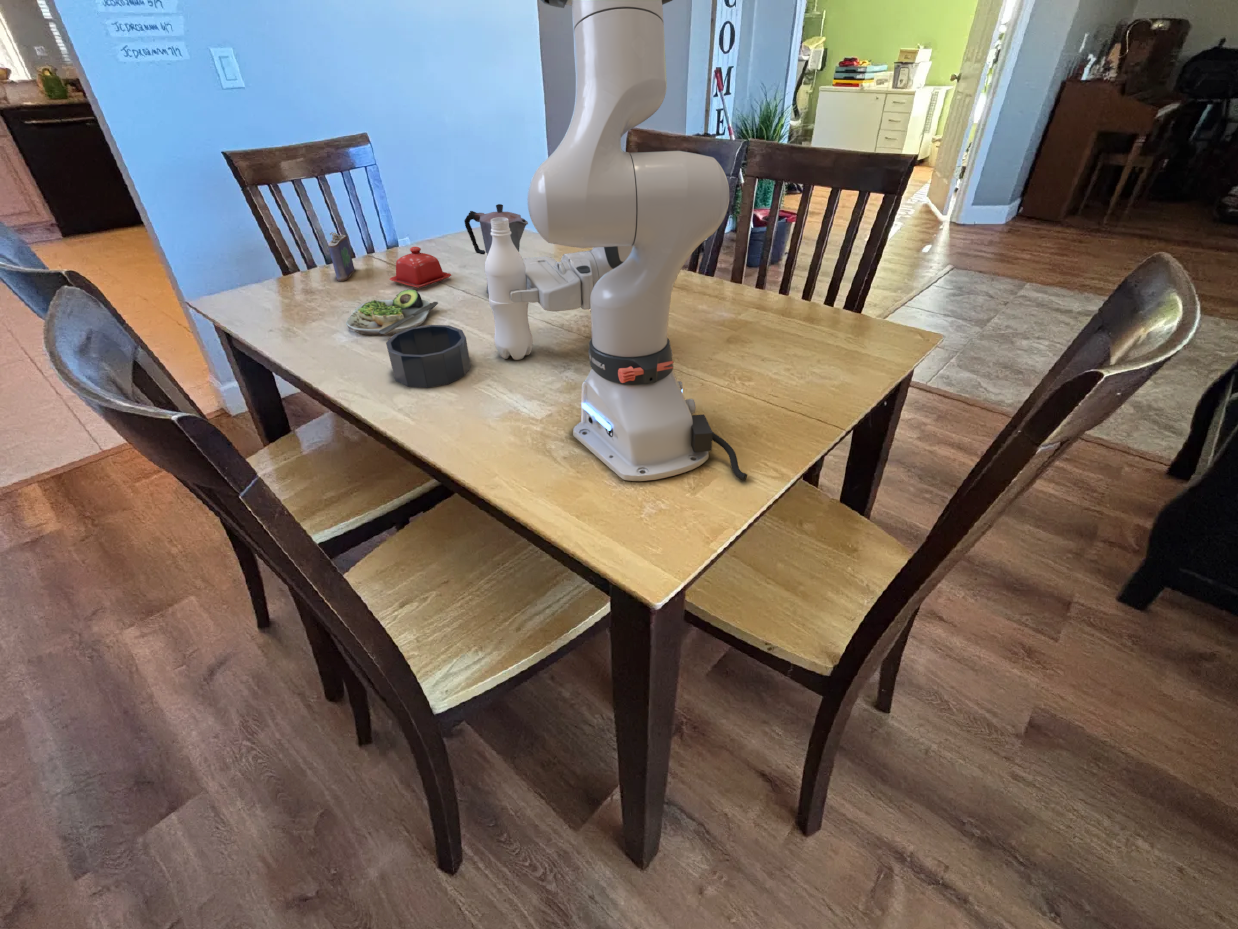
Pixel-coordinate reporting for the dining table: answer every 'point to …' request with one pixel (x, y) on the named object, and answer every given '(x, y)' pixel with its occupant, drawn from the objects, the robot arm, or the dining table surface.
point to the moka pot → (514, 221)
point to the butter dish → (418, 269)
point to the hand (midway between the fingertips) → (503, 287)
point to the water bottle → (507, 293)
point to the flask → (341, 256)
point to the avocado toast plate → (390, 314)
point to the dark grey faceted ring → (429, 355)
